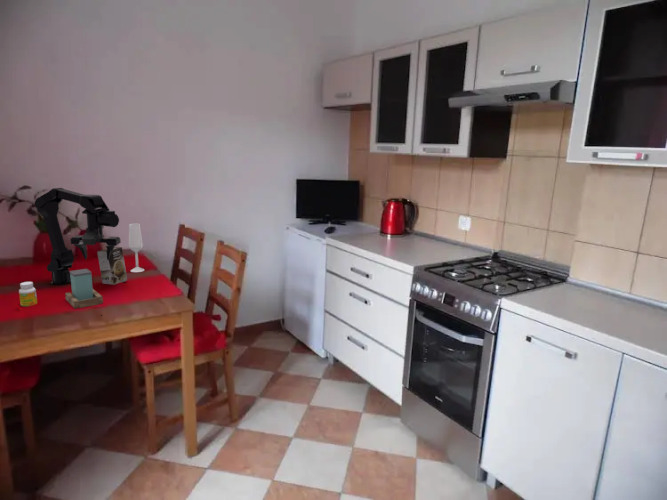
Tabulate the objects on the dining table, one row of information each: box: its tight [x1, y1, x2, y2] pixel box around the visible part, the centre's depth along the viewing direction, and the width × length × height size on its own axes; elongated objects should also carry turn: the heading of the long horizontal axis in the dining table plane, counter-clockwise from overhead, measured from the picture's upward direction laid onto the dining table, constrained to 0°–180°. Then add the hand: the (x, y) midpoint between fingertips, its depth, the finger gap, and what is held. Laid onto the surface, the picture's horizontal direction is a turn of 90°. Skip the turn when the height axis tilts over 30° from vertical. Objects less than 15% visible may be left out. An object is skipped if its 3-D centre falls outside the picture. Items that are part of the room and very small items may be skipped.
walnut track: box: [64, 288, 104, 310], centre depth 175 cm, size 13×11×4 cm
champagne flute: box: [128, 222, 145, 273], centre depth 221 cm, size 7×7×24 cm
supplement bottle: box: [18, 281, 38, 307], centre depth 170 cm, size 5×5×10 cm
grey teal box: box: [69, 268, 94, 301], centre depth 175 cm, size 6×6×12 cm
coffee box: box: [97, 246, 128, 285], centre depth 200 cm, size 9×6×16 cm
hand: (97, 259), depth 192 cm, fingers open, 9 cm apart
